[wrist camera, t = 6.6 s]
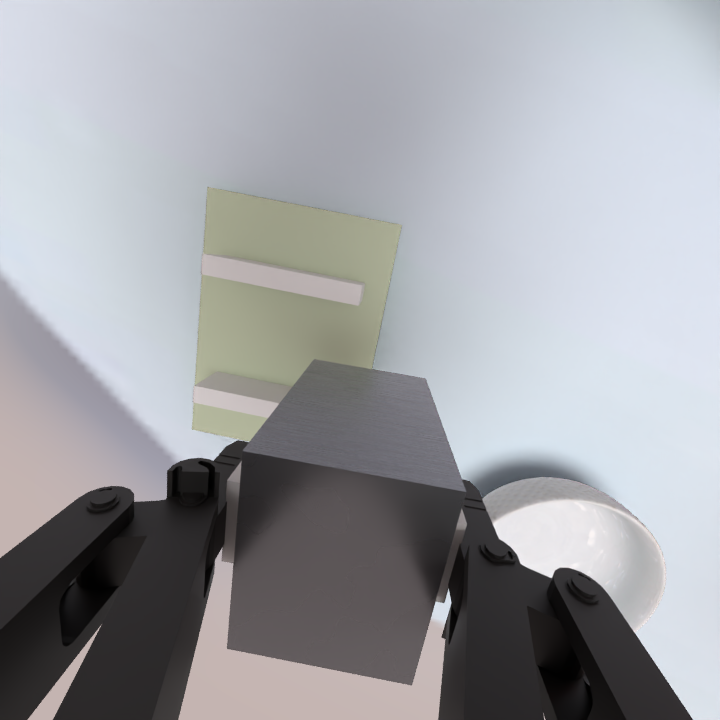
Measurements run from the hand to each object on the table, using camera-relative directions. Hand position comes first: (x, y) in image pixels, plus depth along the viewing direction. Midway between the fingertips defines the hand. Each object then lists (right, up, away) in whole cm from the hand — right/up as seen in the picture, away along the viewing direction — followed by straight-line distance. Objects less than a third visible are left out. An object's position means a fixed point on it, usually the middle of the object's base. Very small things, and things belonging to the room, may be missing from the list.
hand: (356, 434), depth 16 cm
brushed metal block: (0, 0, 0) cm, 0 cm away
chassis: (-6, +6, +17) cm, 19 cm away
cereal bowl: (+17, -14, +20) cm, 30 cm away
